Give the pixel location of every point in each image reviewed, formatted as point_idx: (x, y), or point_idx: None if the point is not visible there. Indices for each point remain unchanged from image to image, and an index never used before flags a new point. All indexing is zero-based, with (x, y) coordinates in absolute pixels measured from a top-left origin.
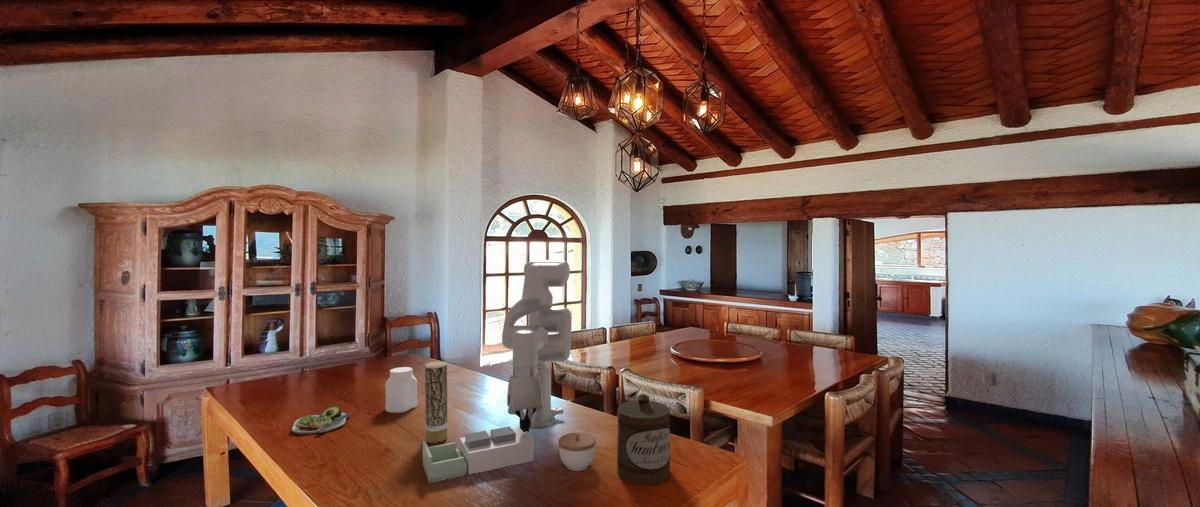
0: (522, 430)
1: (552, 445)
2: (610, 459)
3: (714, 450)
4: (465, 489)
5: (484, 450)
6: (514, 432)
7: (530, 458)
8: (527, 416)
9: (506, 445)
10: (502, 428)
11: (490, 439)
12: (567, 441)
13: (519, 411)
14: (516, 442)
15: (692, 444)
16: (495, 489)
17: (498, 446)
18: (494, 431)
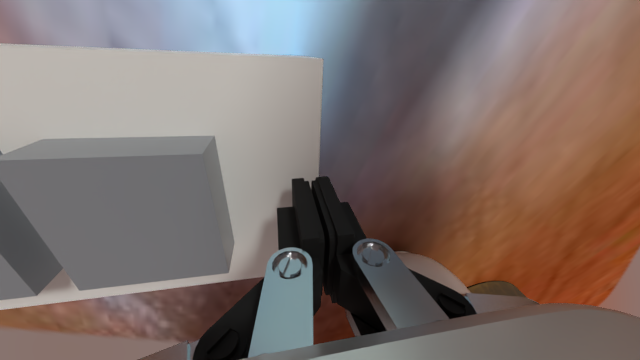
0: (292, 204)
1: (420, 124)
2: (471, 263)
3: (616, 280)
4: (53, 304)
5: (42, 304)
6: (222, 264)
7: None
8: (343, 301)
9: (174, 284)
10: (127, 175)
11: (44, 286)
12: None
13: (280, 325)
14: (231, 269)
15: (629, 253)
16: (156, 316)
17: (127, 285)
18: (48, 208)
